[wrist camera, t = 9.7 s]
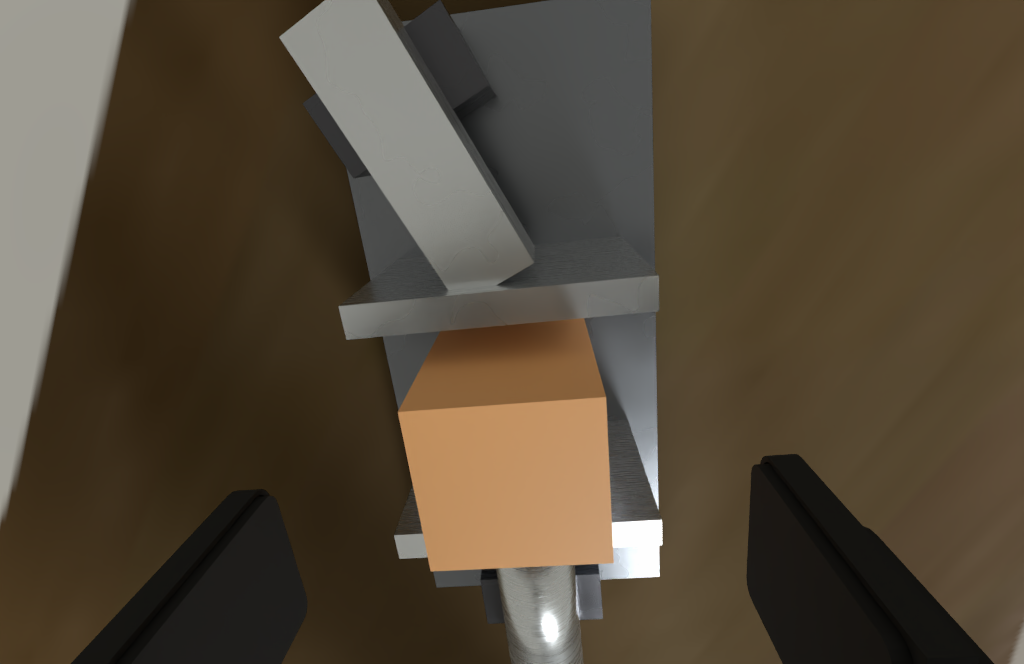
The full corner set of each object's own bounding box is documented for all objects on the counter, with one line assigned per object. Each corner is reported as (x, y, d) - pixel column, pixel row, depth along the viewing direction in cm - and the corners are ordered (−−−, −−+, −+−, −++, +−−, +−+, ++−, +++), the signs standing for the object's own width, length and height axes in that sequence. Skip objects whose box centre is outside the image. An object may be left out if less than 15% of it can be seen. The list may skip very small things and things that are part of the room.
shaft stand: (651, 548, 21) (697, 710, 15) (443, 559, 22) (407, 717, 16) (639, 1, 14) (715, -108, 8) (338, 44, 15) (203, -27, 9)
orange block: (577, 294, 16) (606, 397, 9) (584, 405, 17) (613, 563, 11) (453, 304, 16) (397, 412, 10) (470, 413, 18) (430, 571, 11)
